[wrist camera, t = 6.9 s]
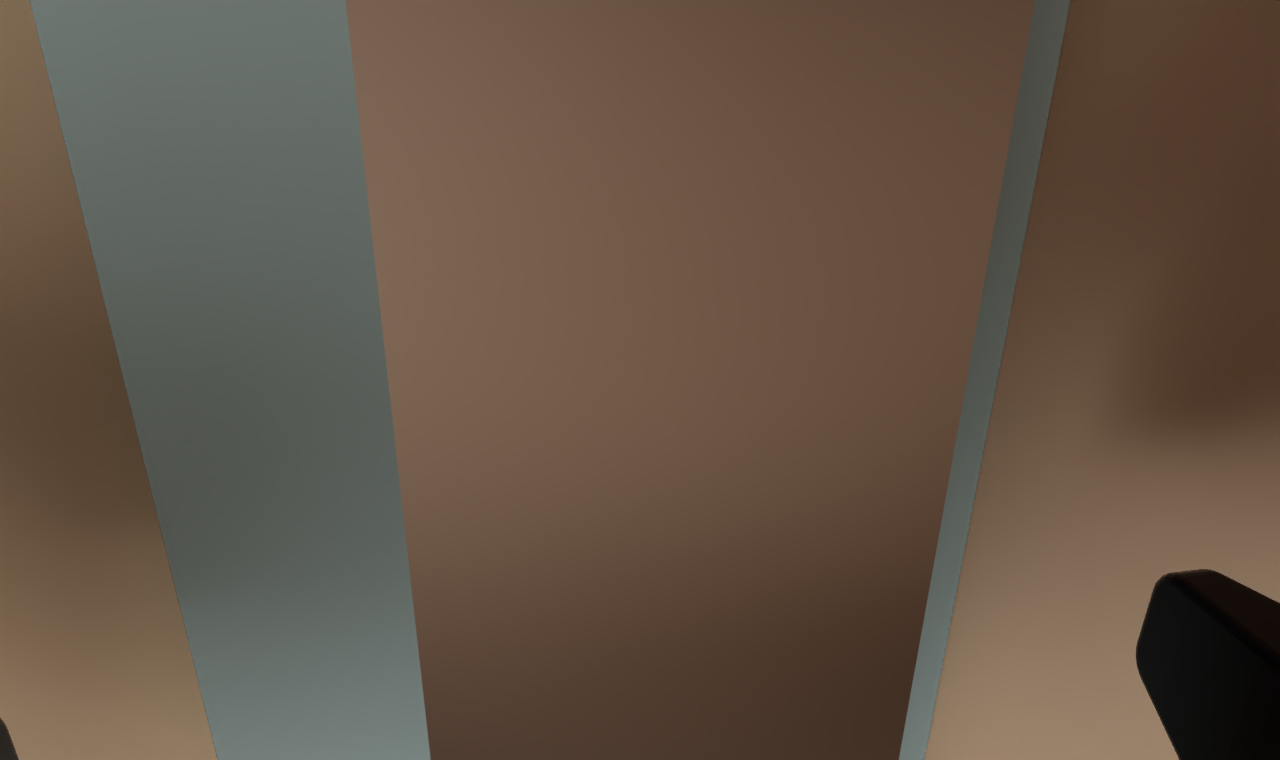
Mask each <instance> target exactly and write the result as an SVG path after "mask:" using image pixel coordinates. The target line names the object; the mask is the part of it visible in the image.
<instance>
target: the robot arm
mask: <svg viewBox="0 0 1280 760" xmlns="http://www.w3.org/2000/svg"><path fill="white" fill-rule="evenodd" d="M1136 661H1137V667H1138V670H1139V674H1140V676H1141V679H1142V681H1143V683H1144V685H1145V688H1146V690H1147V692H1148V694H1149V696H1150V698H1151V700H1152V702H1153V705H1154V707H1155V709H1156V711H1157V713H1158V715H1159V717H1160V719H1161V722H1162V724H1163V726H1164V728H1165V730H1166V732H1167V734H1168V736H1169V739H1170V741H1171V743H1172V745H1173V747H1174V749H1175V751H1176V753H1177V755H1178V758H1179V760H1280V603H1278V602H1276V601H1274V600H1272V599H1270V598H1268V597H1266V596H1264V595H1262V594H1260V593H1258V592H1256V591H1254V590H1252V589H1250V588H1248V587H1246V586H1244V585H1242V584H1240V583H1238V582H1236V581H1234V580H1232V579H1230V578H1228V577H1226V576H1224V575H1222V574H1220V573H1218V572H1216V571H1213V570H1208V569H1199V570H1191V571H1182V572H1174V573H1168V574H1166V575H1163V576H1162V577H1161V578H1160V579H1159V580H1158V581H1157V582H1156V584H1155V586H1154V589H1153V592H1152V596H1151V599H1150V602H1149V605H1148V609H1147V612H1146V615H1145V619H1144V622H1143V625H1142V629H1141V632H1140V635H1139V638H1138V642H1137V646H1136ZM0 760H19V759H18V756H17V753H16V751H15V748H14V745H13V743H12V740H11V737H10V734H9V732H8V729H7V727H6V725H5V723H4V722H3V720H2V719H1V718H0Z"/></svg>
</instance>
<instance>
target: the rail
mask: <svg viewBox="0 0 1280 760" xmlns="http://www.w3.org/2000/svg"><path fill="white" fill-rule="evenodd" d="M1034 2H1035V0H346V9H347V18H348V27H349V36H350V45H351V54H352V63H353V72H354V81H355V90H356V98H357V107H358V116H359V125H360V134H361V143H362V152H363V161H364V170H365V179H366V188H367V197H368V205H369V214H370V223H371V232H372V241H373V250H374V259H375V268H376V277H377V286H378V295H379V304H380V313H381V321H382V330H383V339H384V348H385V357H386V366H387V375H388V384H389V393H390V402H391V411H392V420H393V428H394V437H395V446H396V455H397V464H398V473H399V482H400V491H401V500H402V509H403V518H404V527H405V535H406V544H407V553H408V562H409V571H410V580H411V589H412V598H413V607H414V616H415V625H416V634H417V643H418V651H419V660H420V669H421V678H422V687H423V696H424V705H425V714H426V723H427V732H428V741H429V750H430V758H431V760H899V756H900V750H901V744H902V739H903V733H904V728H905V722H906V716H907V711H908V705H909V700H910V694H911V689H912V683H913V677H914V672H915V666H916V661H917V655H918V650H919V644H920V638H921V633H922V627H923V622H924V616H925V610H926V605H927V599H928V594H929V588H930V583H931V577H932V571H933V566H934V560H935V555H936V549H937V544H938V538H939V532H940V527H941V521H942V516H943V510H944V504H945V499H946V493H947V488H948V482H949V477H950V471H951V465H952V460H953V454H954V449H955V443H956V438H957V432H958V426H959V421H960V415H961V410H962V404H963V398H964V393H965V387H966V382H967V376H968V371H969V365H970V359H971V354H972V348H973V343H974V337H975V332H976V326H977V320H978V315H979V309H980V304H981V298H982V292H983V287H984V281H985V276H986V270H987V265H988V259H989V253H990V248H991V242H992V237H993V231H994V226H995V220H996V214H997V209H998V203H999V198H1000V192H1001V186H1002V181H1003V175H1004V170H1005V164H1006V159H1007V153H1008V147H1009V142H1010V136H1011V131H1012V125H1013V120H1014V114H1015V108H1016V103H1017V97H1018V92H1019V86H1020V80H1021V75H1022V69H1023V64H1024V58H1025V53H1026V47H1027V41H1028V36H1029V30H1030V25H1031V19H1032V14H1033V8H1034Z"/></svg>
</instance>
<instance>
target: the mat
mask: <svg viewBox="0 0 1280 760" xmlns="http://www.w3.org/2000/svg"><path fill="white" fill-rule="evenodd" d="M1070 1H1071V0H1035V2H1034V8H1033V14H1032V19H1031V25H1030V30H1029V36H1028V41H1027V47H1026V53H1025V58H1024V64H1023V69H1022V75H1021V80H1020V86H1019V92H1018V97H1017V103H1016V108H1015V114H1014V120H1013V125H1012V131H1011V136H1010V142H1009V147H1008V153H1007V159H1006V164H1005V170H1004V175H1003V181H1002V186H1001V192H1000V198H999V203H998V209H997V214H996V220H995V226H994V231H993V237H992V242H991V248H990V253H989V259H988V265H987V270H986V276H985V281H984V287H983V292H982V298H981V304H980V309H979V315H978V320H977V326H976V332H975V337H974V343H973V348H972V354H971V359H970V365H969V371H968V376H967V382H966V387H965V393H964V398H963V404H962V410H961V415H960V421H959V426H958V432H957V438H956V443H955V449H954V454H953V460H952V465H951V471H950V477H949V482H948V488H947V493H946V499H945V504H944V510H943V516H942V521H941V527H940V532H939V538H938V544H937V549H936V555H935V560H934V566H933V571H932V577H931V583H930V588H929V594H928V599H927V605H926V610H925V616H924V622H923V627H922V633H921V638H920V644H919V650H918V655H917V661H916V666H915V672H914V677H913V683H912V689H911V694H910V700H909V705H908V711H907V716H906V722H905V728H904V733H903V739H902V744H901V750H900V756H899V760H924V759H925V754H926V748H927V743H928V738H929V733H930V728H931V722H932V717H933V712H934V707H935V702H936V696H937V691H938V686H939V681H940V676H941V670H942V665H943V660H944V655H945V650H946V645H947V639H948V634H949V629H950V624H951V619H952V613H953V608H954V603H955V598H956V593H957V587H958V582H959V577H960V572H961V567H962V561H963V556H964V551H965V546H966V541H967V535H968V530H969V525H970V520H971V515H972V509H973V504H974V499H975V494H976V489H977V484H978V478H979V473H980V468H981V463H982V458H983V452H984V447H985V442H986V437H987V432H988V426H989V421H990V416H991V411H992V406H993V400H994V395H995V390H996V385H997V380H998V374H999V369H1000V364H1001V359H1002V354H1003V349H1004V343H1005V338H1006V333H1007V328H1008V323H1009V317H1010V312H1011V307H1012V302H1013V297H1014V291H1015V286H1016V281H1017V276H1018V271H1019V265H1020V260H1021V255H1022V250H1023V245H1024V239H1025V234H1026V229H1027V224H1028V219H1029V213H1030V208H1031V203H1032V198H1033V193H1034V188H1035V182H1036V177H1037V172H1038V167H1039V162H1040V156H1041V151H1042V146H1043V141H1044V136H1045V130H1046V125H1047V120H1048V115H1049V110H1050V104H1051V99H1052V94H1053V89H1054V84H1055V78H1056V73H1057V68H1058V63H1059V58H1060V52H1061V47H1062V42H1063V37H1064V32H1065V27H1066V21H1067V16H1068V11H1069V6H1070ZM30 4H31V8H32V12H33V16H34V20H35V24H36V28H37V32H38V37H39V41H40V45H41V49H42V53H43V57H44V61H45V65H46V69H47V73H48V77H49V81H50V85H51V89H52V93H53V97H54V101H55V105H56V109H57V113H58V117H59V121H60V125H61V129H62V133H63V137H64V141H65V146H66V150H67V154H68V158H69V162H70V166H71V170H72V174H73V178H74V182H75V186H76V190H77V194H78V198H79V202H80V206H81V210H82V214H83V218H84V222H85V226H86V230H87V234H88V238H89V242H90V246H91V250H92V255H93V259H94V263H95V267H96V271H97V275H98V279H99V283H100V287H101V291H102V295H103V299H104V303H105V307H106V311H107V315H108V319H109V323H110V327H111V331H112V335H113V339H114V343H115V347H116V351H117V355H118V359H119V363H120V368H121V372H122V376H123V380H124V384H125V388H126V392H127V396H128V400H129V404H130V408H131V412H132V416H133V420H134V424H135V428H136V432H137V436H138V440H139V444H140V448H141V452H142V456H143V460H144V464H145V468H146V472H147V477H148V481H149V485H150V489H151V493H152V497H153V501H154V505H155V509H156V513H157V517H158V521H159V525H160V529H161V533H162V537H163V541H164V545H165V549H166V553H167V557H168V561H169V565H170V569H171V573H172V577H173V581H174V586H175V590H176V594H177V598H178V602H179V606H180V610H181V614H182V618H183V622H184V626H185V630H186V634H187V638H188V642H189V646H190V650H191V654H192V658H193V662H194V666H195V670H196V674H197V678H198V682H199V686H200V690H201V695H202V699H203V703H204V707H205V711H206V715H207V719H208V723H209V727H210V731H211V735H212V739H213V743H214V747H215V751H216V755H217V759H218V760H431V758H430V750H429V741H428V732H427V723H426V714H425V705H424V696H423V687H422V678H421V669H420V660H419V651H418V643H417V634H416V625H415V616H414V607H413V598H412V589H411V580H410V571H409V562H408V553H407V544H406V535H405V527H404V518H403V509H402V500H401V491H400V482H399V473H398V464H397V455H396V446H395V437H394V428H393V420H392V411H391V402H390V393H389V384H388V375H387V366H386V357H385V348H384V339H383V330H382V321H381V313H380V304H379V295H378V286H377V277H376V268H375V259H374V250H373V241H372V232H371V223H370V214H369V205H368V197H367V188H366V179H365V170H364V161H363V152H362V143H361V134H360V125H359V116H358V107H357V98H356V90H355V81H354V72H353V63H352V54H351V45H350V36H349V27H348V18H347V9H346V0H30Z"/></svg>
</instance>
